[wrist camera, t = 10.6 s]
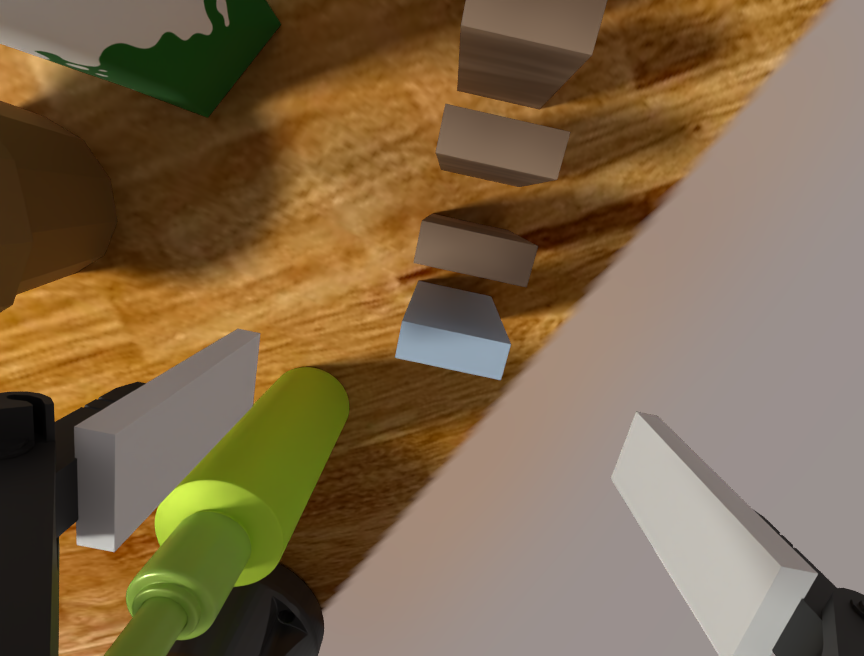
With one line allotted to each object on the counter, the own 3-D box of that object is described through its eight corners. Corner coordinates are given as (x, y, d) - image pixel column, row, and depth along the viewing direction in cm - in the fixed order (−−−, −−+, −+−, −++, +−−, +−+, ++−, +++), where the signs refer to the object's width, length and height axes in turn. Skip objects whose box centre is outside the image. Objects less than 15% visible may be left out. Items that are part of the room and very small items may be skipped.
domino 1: (539, 109, 26) (592, 54, 16) (457, 90, 25) (460, 25, 16) (547, 75, 25) (607, -1, 15) (464, 56, 25) (472, -33, 15)
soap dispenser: (248, 375, 31) (-72, 649, 12) (339, 361, 31) (154, 627, 12) (270, 445, 33) (18, 785, 14) (357, 433, 32) (221, 772, 13)
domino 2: (519, 187, 27) (556, 179, 17) (441, 169, 27) (435, 152, 17) (527, 156, 26) (570, 132, 17) (447, 139, 26) (445, 103, 17)
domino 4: (484, 321, 29) (500, 380, 20) (413, 306, 29) (395, 357, 20) (491, 296, 29) (510, 344, 19) (418, 280, 29) (402, 321, 19)
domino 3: (500, 257, 28) (526, 287, 19) (426, 241, 28) (413, 262, 18) (508, 230, 28) (538, 246, 18) (432, 213, 28) (421, 220, 18)
